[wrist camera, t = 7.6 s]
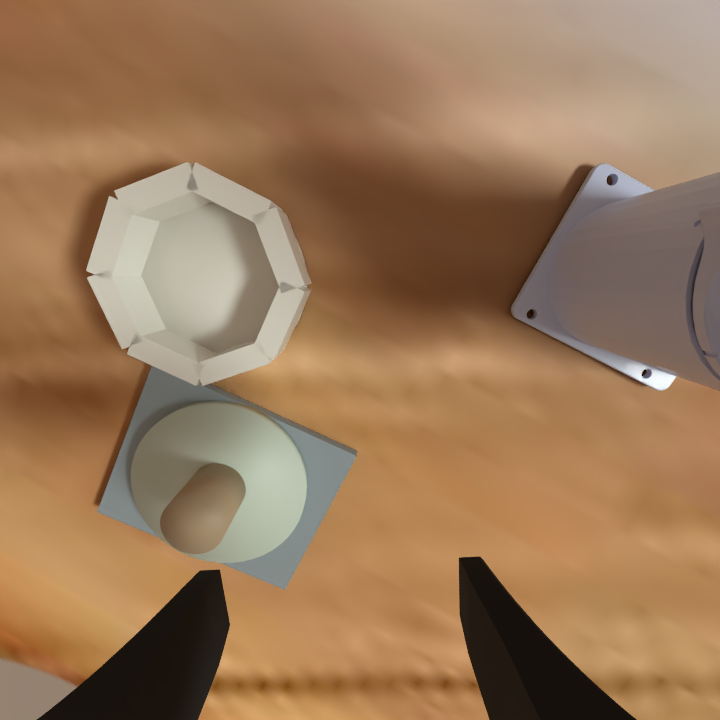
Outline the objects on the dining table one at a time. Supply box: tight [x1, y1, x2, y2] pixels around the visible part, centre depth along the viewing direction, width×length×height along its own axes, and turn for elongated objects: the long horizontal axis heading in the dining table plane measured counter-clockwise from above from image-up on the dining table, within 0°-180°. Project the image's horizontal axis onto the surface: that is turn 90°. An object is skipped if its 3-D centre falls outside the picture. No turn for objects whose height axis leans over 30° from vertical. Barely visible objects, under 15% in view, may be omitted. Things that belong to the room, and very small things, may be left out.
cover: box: [131, 400, 308, 563], centre depth 19 cm, size 10×10×4 cm
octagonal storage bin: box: [86, 162, 312, 386], centre depth 18 cm, size 9×9×3 cm
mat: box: [97, 366, 357, 590], centre depth 22 cm, size 12×10×1 cm
